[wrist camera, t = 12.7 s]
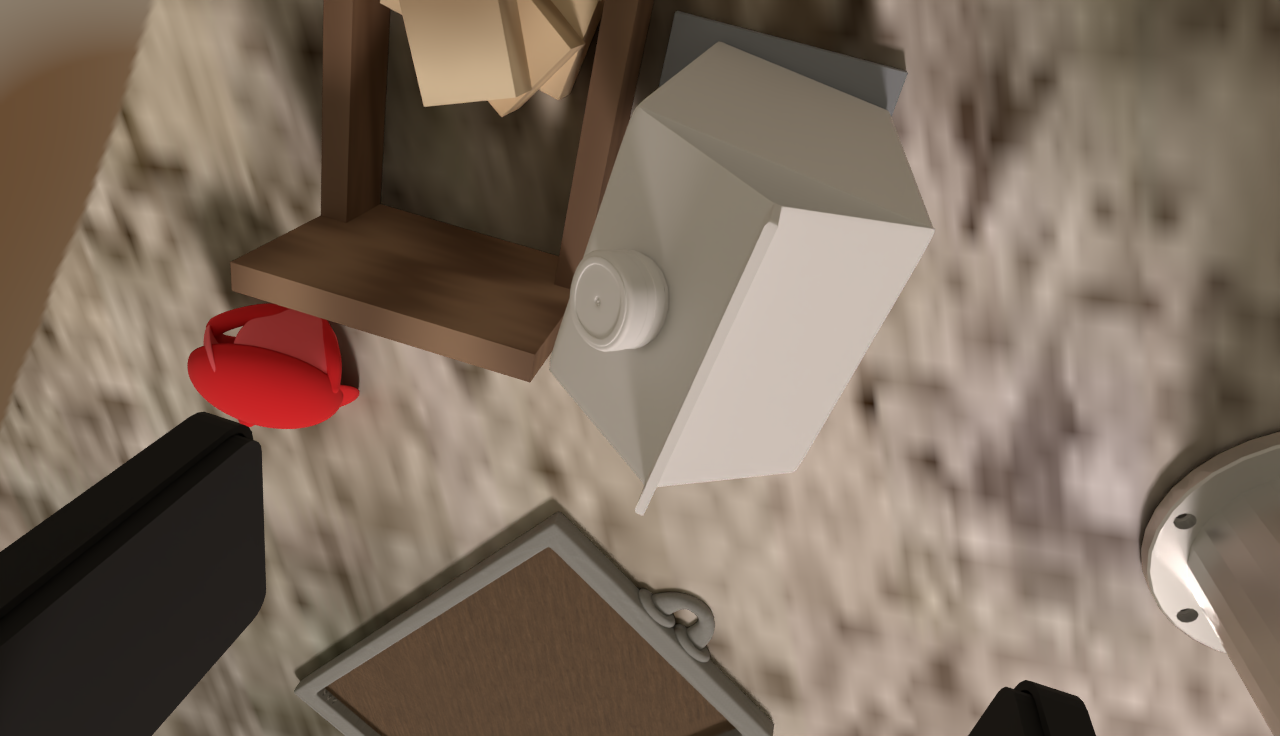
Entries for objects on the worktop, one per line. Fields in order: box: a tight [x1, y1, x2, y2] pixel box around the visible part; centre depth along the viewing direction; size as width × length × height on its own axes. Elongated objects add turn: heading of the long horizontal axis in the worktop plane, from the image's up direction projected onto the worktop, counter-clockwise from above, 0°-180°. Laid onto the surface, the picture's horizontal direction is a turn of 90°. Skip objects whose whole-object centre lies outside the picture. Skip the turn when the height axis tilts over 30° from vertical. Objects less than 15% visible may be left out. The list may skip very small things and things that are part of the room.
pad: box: [659, 11, 908, 117], centre depth 32 cm, size 9×9×1 cm
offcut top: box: [399, 0, 532, 107], centre depth 28 cm, size 6×4×2 cm, turn 7°
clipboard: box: [294, 512, 774, 736], centre depth 51 cm, size 19×2×30 cm
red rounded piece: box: [188, 303, 359, 429], centre depth 39 cm, size 8×6×6 cm
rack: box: [230, 0, 654, 382], centre depth 29 cm, size 12×15×9 cm
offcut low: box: [380, 0, 605, 100], centre depth 31 cm, size 8×4×2 cm, turn 65°
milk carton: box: [549, 42, 935, 515], centre depth 23 cm, size 7×7×19 cm
